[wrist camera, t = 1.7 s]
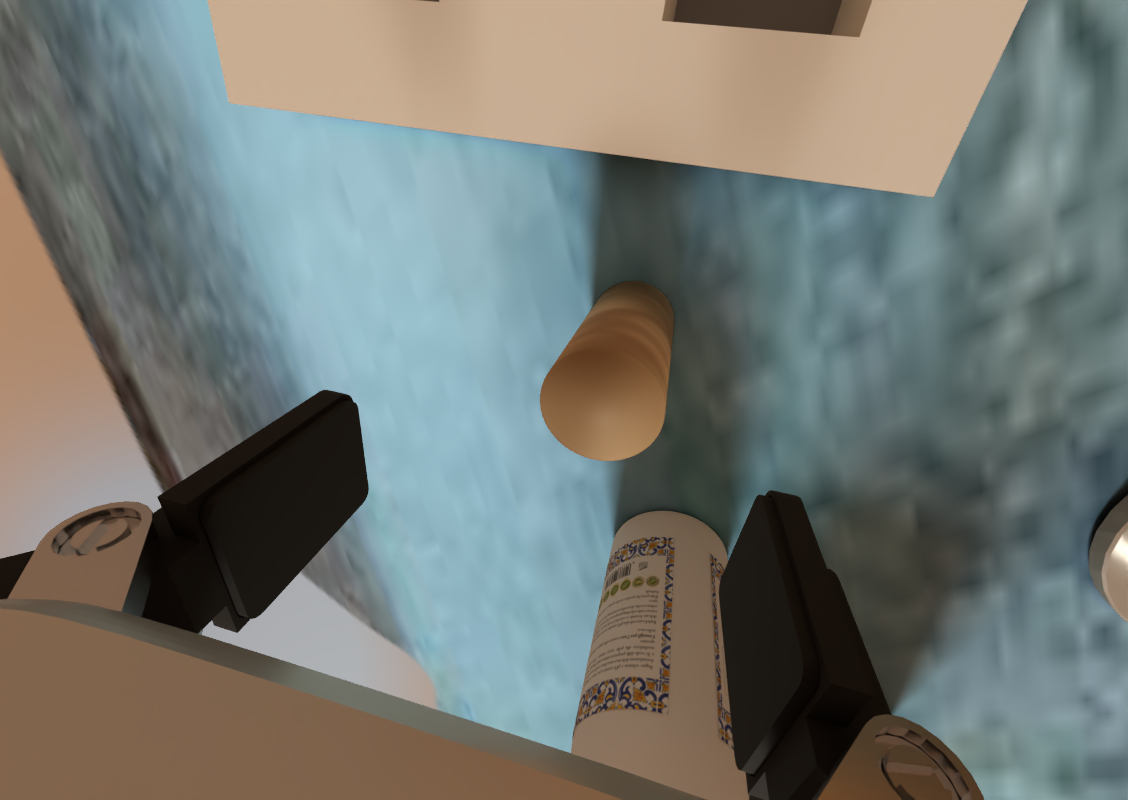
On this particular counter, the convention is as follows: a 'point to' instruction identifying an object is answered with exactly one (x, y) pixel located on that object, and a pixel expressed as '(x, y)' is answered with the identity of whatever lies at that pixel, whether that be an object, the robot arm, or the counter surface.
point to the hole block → (642, 76)
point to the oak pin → (613, 375)
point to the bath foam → (661, 661)
